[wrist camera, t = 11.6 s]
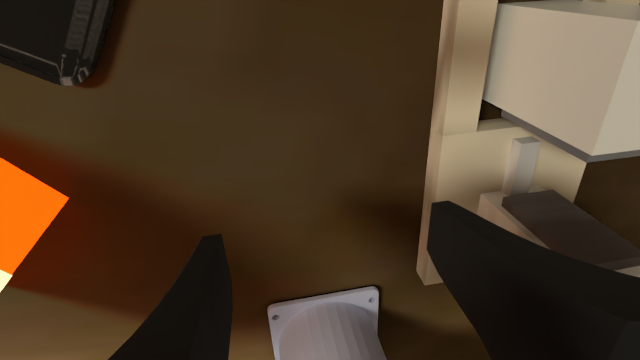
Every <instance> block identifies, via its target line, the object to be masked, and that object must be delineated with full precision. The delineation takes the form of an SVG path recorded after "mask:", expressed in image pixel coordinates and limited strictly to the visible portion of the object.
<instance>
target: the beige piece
mask: <svg viewBox="0 0 640 360" xmlns="http://www.w3.org/2000/svg"><path fill="white" fill-rule="evenodd" d="M583 1H591V2H603V3H615V4H627V5H639V3H640V0H583ZM497 4H498V0H444V3H443V13H442V23H441V33H440V43H439V52H438V62H437V72H436V82H435V92H434V102H433V111H432V121H431V131H430V141H429V151H428V161H427V171H426V180H425V190H424V200H423V210H422V220H421V230H420V239H419V249H418V259H417V269H416V271H417V273H418V274H419V276H420V278H421V280H422V281H423V283H424V285H430V284H436V283H441V282H443V280H442V279H441V277H440V276H439V274H438V272H437V270H436V268H435V266H434V264H433V262H432V260H431V258H430V256H429V254H428V251H427V249H426V248H427V240H428V231H429V222H430V213H431V205H432V203H434V202H440V201H447V200H448V201H451V202H453V203H455V204H457V205H459V206H461V207H463V208H465V209H467V210H469V211H471V212H473V213H475V214H477V215H478V216H480V217H482V218H484V219H486V220H488V221H490V222H492V223H494V224H496V225H498V226H500V227H502V228H504V229H506V230H508V231H510V232H512V233H514V234H516V235H518V236H520V237H522V238H525V239H527V240H529V241H531V242H533V243H536V244H538V245H540V246H543V247H545V248H548V249H550V250H553V251H555V252H558V253H561V254H563V255H566V256H569V257H571V258H574V259H577V260H580V261H583V262H586V263H590V264H593V265H596V266H599V267H603V268H606V269H609V270H613V271H617V272H620V273H624V274H628V275H632V276H636V277H640V249H639V248H637V247H636V246H634V245H633V244H631V243H630V242H628V241H627V240H626V239H624V238H623V237H621V236H620V235H618V234H617V233H615V232H614V231H612V230H611V229H610V228H608V227H607V226H605V225H604V224H602V223H601V222H599V221H598V220H596V219H595V218H594V217H592V216H591V215H589V214H588V213H586V212H585V211H583V210H582V209H581V208H579V207H578V206H576V205H575V204H573V202H574V199H575V196H576V193H577V190H578V187H579V184H580V181H581V178H582V175H583V172H584V169H585V166H586V162H584V161H582V160H580V159H578V158H577V157H575V156H573V155H571V154H569V153H568V152H566V151H564V150H562V149H560V148H558V147H557V146H555V145H553V144H551V143H549V142H547V141H546V140H544V139H542V138H540V137H538V136H537V135H535V134H533V133H531V132H529V131H527V130H526V129H524V128H522V127H520V126H518V125H516V124H515V123H513V122H511V121H509V120H507V119H506V118H499V119H491V120H482V121H478V119H479V113H480V107H481V101H482V95H483V89H484V82H485V76H486V70H487V64H488V58H489V52H490V46H491V40H492V34H493V28H494V22H495V16H496V10H497Z"/></svg>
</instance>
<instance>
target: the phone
mask: <svg viewBox="0 0 640 360" xmlns="http://www.w3.org/2000/svg"><path fill="white" fill-rule="evenodd" d="M114 1H116V0H0V63H2V64H5V65H7V66H10V67H12V68H15V69H18V70H20V71H23V72H26V73H28V74H31V75H34V76H36V77H39V78H41V79H44V80H47V81H49V82H52V83H55V84H59V85H63V86H73V85H76V84H79V83H81V82H83V81H84V80H85V79H87V78H88V77H89V76H90V75H91V74H92V73H93V71H94V69H95V66H96V63H97V59H98V56H99V52H101V50H102V46H103V43H104V40H103V38H104V34H105V31H106V29H108V27H109V23H110V19H111V16H112V12H113V9H114V7H112V6H113V2H114Z"/></svg>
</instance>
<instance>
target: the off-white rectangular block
mask: <svg viewBox="0 0 640 360" xmlns="http://www.w3.org/2000/svg"><path fill="white" fill-rule="evenodd" d="M482 99H483V100H485V101H487V102H489V103H491V104H493V105H495V106H497V107H499V108H501V109H502V113H501V116H502V117H504V118H506V119H507V120H509V121H511V122H513V123H515V124H516V125H518V126H520V127H522V128H524V129H526V130H527V131H529V132H531V133H533V134H535V135H537V136H538V137H540V138H542V139H544V140H546V141H547V142H549V143H551V144H553V145H555V146H557V147H558V148H560V149H562V150H564V151H566V152H568V153H569V154H571V155H573V156H575V157H577V158H578V159H580V160H582V161H584V162H586V163H588V162H595V161H603V160H610V159H618V158H626V157H633V156H640V6H639V5H627V4H615V3H603V2H591V1H579V0H550V1H533V2H517V3H501V4H497V10H496V16H495V22H494V28H493V34H492V40H491V46H490V52H489V58H488V64H487V70H486V76H485V82H484V89H483V95H482Z"/></svg>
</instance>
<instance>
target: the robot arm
mask: <svg viewBox="0 0 640 360" xmlns="http://www.w3.org/2000/svg"><path fill="white" fill-rule="evenodd" d="M426 249H427V251H428V254H429V256H430V258H431V260H432V262H433V264H434V266H435V268H436V270H437V272H438V274H439V276H440V277H441V279H442V280H443V282H444V283H445V285H446V286H447V288H448V289H449V291H450V292H451V294H452V295H453V297H454V298H455V300H456V301H457V303H458V304H459V306H460V307H461V309H462V310H463V312H464V313H465V315H466V316H467V318H468V319H469V321H470V322H471V324H472V325H473V327H474V328H475V330H476V332H477V333H478V335H479V336H480V338H481V340H482V342H483V344H484V346H485V347H486V349H487V351H488V353H489V355H490V357H491V359H492V360H640V277H636V276H632V275H628V274H624V273H620V272H617V271H613V270H609V269H606V268H603V267H599V266H596V265H593V264H590V263H586V262H583V261H580V260H577V259H574V258H571V257H569V256H566V255H563V254H561V253H558V252H555V251H553V250H550V249H548V248H545V247H543V246H540V245H538V244H536V243H533V242H531V241H529V240H527V239H525V238H522V237H520V236H518V235H516V234H514V233H512V232H510V231H508V230H506V229H504V228H502V227H500V226H498V225H496V224H494V223H492V222H490V221H488V220H486V219H484V218H482V217H480V216H478V215H477V214H475V213H473V212H471V211H469V210H467V209H465V208H463V207H461V206H459V205H457V204H455V203H453V202H451V201H448V200H447V201H440V202H434V203H432V205H431V213H430V222H429V231H428V240H427V248H426ZM372 297H373V298H372ZM370 298H371V299H370ZM378 304H379V292H378V289H377V288H376V287H374V286H371V287H365V288H359V289H354V290H348V291H343V292H337V293H331V294H326V295H320V296H314V297H309V298H303V299H297V300H292V301H286V302H280V303H275V304H271V305H270V306H269V307H268V309H267V311H268V318H269V324H270V331H271V337H272V343H273V349H274V355H275V360H387V359H386V357H385V354H384V352H383V349H382V346H381V344H380V341H379V338H378V336H377V329H378ZM274 315H277V316H274ZM231 321H232V281H231V277H230V272H229V267H228V263H227V258H226V254H225V249H224V244H223V240H222V235H221V234H218V235H212V236H205V237H201V239H200V240H199V241H198V243H197V245H196V247H195V249H194V250H193V252H192V254H191V256H190V257H189V259H188V261H187V262H186V264H185V266H184V267H183V269H182V270H181V272H180V273H179V275H178V277H177V278H176V280H175V281H174V283H173V284H172V286H171V287H170V289H169V290H168V291H167V293H166V294H165V295H164V297H163V298H162V299H161V301H160V302H159V304H158V305H157V306H156V308H155V309H154V310H153V311H152V313H151V314H150V315H149V316H148V317H147V319H146V320H145V321H144V322H143V323H142V325H141V326H140V327H139V328H138V329H137V330H136V331H135V333H134V334H133V335H132V336H131V337H130V338H129V339H128V340H127V341H126V342H125V343H124V344H123V345H122V346H121V347H120V348H119V349H118V350H117V351H116V352H115V353H114V354H113V355H112V356H111V357H110V358H109V359H108V360H228V355H229V344H230V333H231Z"/></svg>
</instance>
